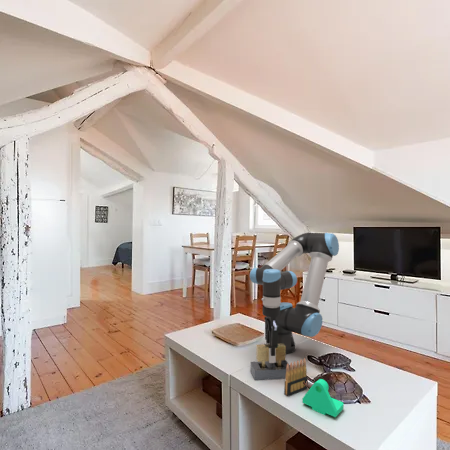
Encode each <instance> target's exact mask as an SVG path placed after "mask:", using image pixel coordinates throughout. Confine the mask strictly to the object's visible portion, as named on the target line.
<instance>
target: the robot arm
mask: <svg viewBox="0 0 450 450" xmlns="http://www.w3.org/2000/svg"><path fill="white" fill-rule="evenodd" d="M339 243H340V242H339V240H338V237H337V236H336V234H334V233H331V232H304V233H302V234H299V235H297V236H295V237H294V238H292V239H291V240H290V241H288V242H287V245H286V246H285V247H284V248H283V249H282V250H280V251H279V252H278V253H277V254H276V255H275V256H273V257H272V258H271V259H270V260H269V261H267V262H265V264H264V265H262V266H261V267H254V268H252V269H251V270H250V272H249V279H250V281H251V283H253V284H256V285H257V284H258V285H261V286H262V298H261V301H262V315H263V316H264V340H265V344H270V346H268V348H269V363H276V348H277V347H278V344H284V345H285V346H286V354H291V353H294V352H295V351H296V341H295V338H294V337H293V333H295V334H299V335H302V336H304V337H310V338H313V337H315V336H317V335H318V334H319V333H320V331H321V328H322V327H323V316H322V314H321V313H320V312H321V310H320V309H319V306H318V305H319V303H320V302H319V301H320V298H321V293H322V290H323V289H322V288H323V286H324V281H325V278H326V277H325V276H326V272H327V268H328V264H329V262H331V261H333V257H335V256H338V254H339V250H340V244H339ZM304 254H309V257H310V258H311V259H310V263H309V266H308V270H307V274H306V276H305V282H304V286H303V290H302V294H301V298H300V301H298V302H297V303H296V304H295V307H293V304H292V303H291V302H288V301H287V302H285V301H283V302H281V300H282V299H281V291H283V290H286V289H290V288H291V289H292V288H294V287H295V286H296V285H297V283H298V278H297V277H298V276H297V275H296V273H295V272H293V271H291V270H285V271H283V269H284V268H286V267H287V266H288V265H289V264H290V263H291V262H292V261H294V260H295V259H296V258H297V257H300V256H302V255H304Z"/></svg>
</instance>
